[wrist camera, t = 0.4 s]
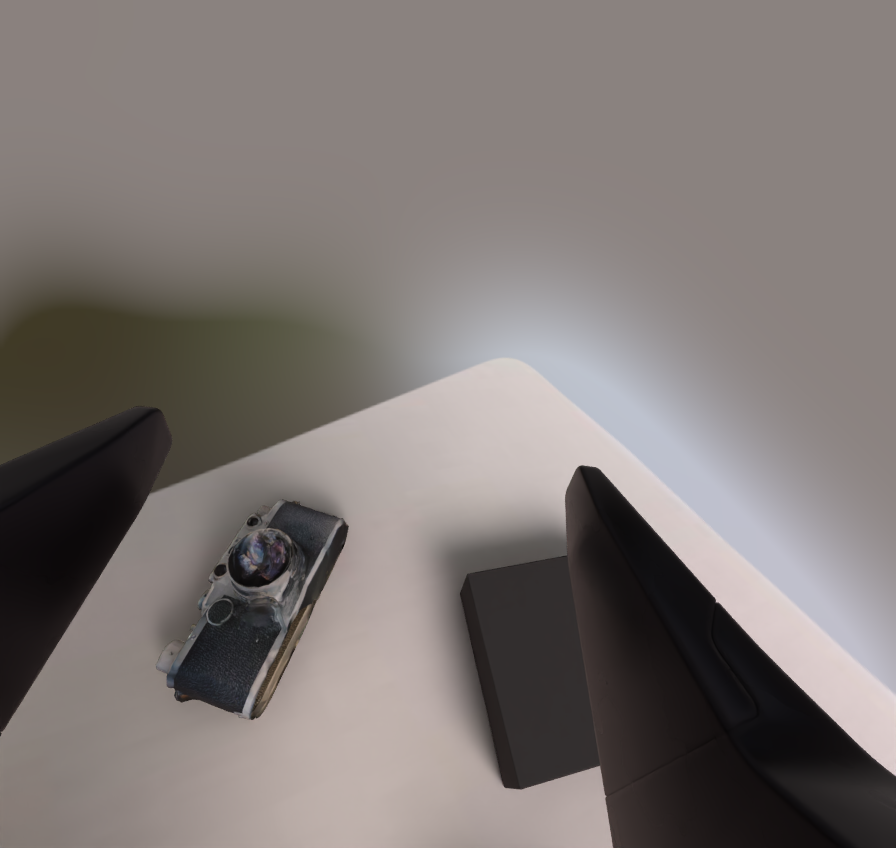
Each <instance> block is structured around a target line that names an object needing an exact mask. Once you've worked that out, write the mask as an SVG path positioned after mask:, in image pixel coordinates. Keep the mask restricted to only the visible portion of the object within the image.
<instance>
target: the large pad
mask: <svg viewBox="0 0 896 848" xmlns="http://www.w3.org/2000/svg"><path fill="white" fill-rule="evenodd" d="M460 596H461V600H462V604H463V609H464V613H465V618H466V622H467V626H468V631H469V635H470V640H471V644H472V648H473V653H474V657H475V662H476V666H477V670H478V675H479V679H480V683H481V688H482V692H483V697H484V701H485V705H486V710H487V714H488V719H489V723H490V727H491V732H492V736H493V741H494V745H495V749H496V754H497V758H498V763H499V767H500V771H501V776H502V780H503V785H504V787H505V788H512V789H524V788H527V787H531V786H534V785H537V784H541V783H544V782H547V781H551V780H554V779H557V778H561V777H564V776H567V775H570V774H574V773H577V772H580V771H584V770H587V769H590V768H594V767H597V766H600V760H599V754H598V748H597V742H596V735H595V729H594V723H593V717H592V711H591V704H590V698H589V692H588V686H587V679H586V673H585V667H584V661H583V655H582V648H581V642H580V636H579V630H578V623H577V617H576V611H575V605H574V598H573V592H572V586H571V580H570V574H569V566H568V556H562V557H557V558H551V559H546V560H541V561H535V562H530V563H524V564H519V565H513V566H508V567H502V568H497V569H492V570H486V571H481V572H475V573H470V574H467V576H466V579H465V582H464V584H463V587H462V590H461V592H460Z"/></svg>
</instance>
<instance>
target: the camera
mask: <svg viewBox="0 0 896 848" xmlns="http://www.w3.org/2000/svg"><path fill="white" fill-rule="evenodd" d="M348 527H349V526H348V525H347V524H346V522H345V521H344V520H343V518H341V519H340V518H337V517H335V516H331V515H328V514H325V513H323V512H319V511H316V510H313V509H311V508H307V507H304V506H301V505H300V502H296V501H293V502H288V501H286V500H283V499H282V500H279V501H278V502H277V503H276V504H275V505H274V506H273V507H272V508H269V507H267V506H261V507H260V508H259V510H258V511H257V514H256V513H253V514H252V515H250V516H249V517H248V519H247V520H246V522H245V523H244V525H243V526H242V528H241V529H240V531H239V532H238V534H237V535H236V537H235V538H234V540H233V541H232V543H231V544H230V546H229V547H228V549H227V550H226V552H225V553H224V555H223V556H222V558H221V559H220V561H219V562H218V564H217V565H216V567H215V568H214V570H213V571H212V573H211V574H210V576H209V582H210V583H212V586H211V588H210V589H209V590H207V591H206V592H205V593H204V594H203V595H202V597H201V598H200V600H199V602H198V609H199V610H201V614H202V617H201V618H200V620H199V622H198V623H197V625H195V624H193V625H192V626H191V629H190V630H192V633H191V634H190V636H189V637H188V639H187V641H186V642H183V641H180V640H174V641H172V642H171V643H169V644H168V645H167V646H166V647H165V648H164V650H163V652H162V653H161V655H160V657H159V659H158V662H157V664H156V668H157V670H159V671H162V672H164V673H167V686H168V688H174V689H175V694H174V696H175V698H176V700H177V701H180V702H185V701H188V700H192V699H193V700H201V701H203V702H206V703H208V704H211V705H213V706H215V707H218V708H220V709H223V710H226V711H228V712H232V713H234V714H237V715H239V718H245V719H251V720H253V719H254V718H255V717H256V718H258V717H260V715H261V714H262V713H263V711H264V710H265V708H266V707H267V705H268V703H269V701H270V700H271V698H272V696H273V694H274V692H275V690H276V688H277V685H278V683H279V681H280V679H281V677H282V675H283V673H284V671H285V669H286V667H287V665H288V663H289V660H290V658H291V656H292V654H293V652H294V650H295V648H296V646H297V644H298V642H299V640H300V638H301V636H302V634H303V631H304V629H305V627H306V625H307V623H308V620H309V618H310V615H311V613H312V610H313V607H314V605H315V603H316V601H317V600H318V598H319V596H320V593H321V591H322V590H323V588H324V586H325V584H326V582H327V580H328V578H329V576H330V574H331V572H332V570H333V567H334V565H335V563H336V560H337V559H338V557H339V555H340V553H341V551H342V549H343V547H344V544H345V541H346V537H347V532H348Z"/></svg>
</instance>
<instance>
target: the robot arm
mask: <svg viewBox="0 0 896 848" xmlns="http://www.w3.org/2000/svg"><path fill="white" fill-rule="evenodd" d="M171 445H172V436H171V433H170V431H169V428H168V425H167V423H166V420H165V418H164V415H163V413H162V412H161V411H160V410H159V409H157V408H153V407H145V406H136V407H133V408H131V409H129V410H126V411H124V412H122V413H119V414H117V415H115V416H112V417H110V418H108V419H106V420H103V421H101V422H99V423H96V424H94V425H92V426H89V427H87V428H85V429H82V430H80V431H78V432H75V433H73V434H71V435H69V436H66V437H64V438H61V439H59V440H57V441H55V442H52V443H50V444H48V445H45V446H43V447H41V448H38V449H36V450H34V451H31V452H29V453H27V454H24V455H22V456H20V457H17V458H15V459H13V460H11V461H8V462H6V463H4V464H1V465H0V736H1V734H2V733H1V732H2V731H3V730H4V729H5V727H6V726H7V724H8V723H9V721H10V719H11V718H12V716H13V715H14V713H15V711H16V710H17V708H18V707H19V705H20V703H21V702H22V700H23V699H24V697H25V695H26V694H27V692H28V690H29V689H30V687H31V686H32V684H33V682H34V681H35V679H36V678H37V676H38V674H39V673H40V671H41V670H42V668H43V666H44V665H45V663H46V662H47V660H48V658H49V657H50V655H51V654H52V652H53V650H54V649H55V647H56V646H57V644H58V642H59V641H60V639H61V638H62V636H63V634H64V633H65V631H66V629H67V628H68V626H69V625H70V623H71V621H72V620H73V618H74V617H75V615H76V613H77V612H78V610H79V609H80V607H81V605H82V604H83V602H84V601H85V599H86V597H87V596H88V594H89V593H90V591H91V589H92V588H93V586H94V585H95V583H96V581H97V580H98V578H99V577H100V575H101V573H102V572H103V570H104V569H105V567H106V565H107V564H108V562H109V560H110V559H111V557H112V556H113V554H114V552H115V551H116V549H117V548H118V546H119V544H120V543H121V541H122V540H123V538H124V536H125V535H126V533H127V532H128V530H129V528H130V527H131V525H132V524H133V522H134V520H135V519H136V517H137V515H138V514H139V512H140V510H141V509H142V507H143V505H144V503H145V501H146V499H147V497H148V495H149V493H150V491H151V488H152V486H153V484H154V482H155V480H156V478H157V476H158V474H159V472H160V470H161V467H162V465H163V463H164V461H165V459H166V457H167V455H168V453H169V451H170V448H171ZM565 508H566V532H567V555H568V566H569V574H570V580H571V586H572V592H573V598H574V605H575V611H576V617H577V623H578V630H579V636H580V642H581V648H582V655H583V661H584V667H585V673H586V679H587V686H588V692H589V698H590V704H591V711H592V717H593V723H594V729H595V735H596V742H597V748H598V754H599V760H600V767H601V773H602V779H603V785H604V791H605V795H606V796H607V797H606V805H607V812H608V818H609V824H610V830H611V837H612V843H613V848H896V776H895V775H893V774H892V773H891V772H889V771H888V770H887V769H886V768H884V767H883V766H882V765H881V764H880V763H878V762H877V761H876V760H875V759H874V758H872V757H871V756H870V755H869V754H868V753H867V752H866V751H865V750H864V749H863V748H861V747H860V746H859V745H858V744H857V743H856V742H855V741H854V740H853V739H852V738H851V737H850V736H849V735H848V734H847V733H846V732H845V731H844V730H843V729H842V728H841V727H840V726H839V725H838V724H837V723H836V722H835V721H834V720H833V719H832V718H831V717H830V716H829V715H828V714H827V713H826V712H825V711H824V710H823V709H822V708H820V707H819V706H818V705H817V704H816V703H815V702H814V701H813V700H812V699H811V698H810V697H809V696H808V695H807V694H806V693H805V692H804V691H803V690H802V689H801V688H800V687H799V686H798V685H797V684H796V683H795V682H794V681H793V680H792V679H791V678H790V677H789V676H788V675H787V674H786V673H785V672H784V671H783V670H782V669H781V668H780V667H779V666H778V665H777V664H776V663H775V662H774V661H773V660H772V659H771V658H770V657H769V656H768V655H767V654H766V653H765V652H764V651H763V650H762V649H761V648H760V647H759V646H758V645H757V644H756V643H755V642H754V641H753V639H752V638H751V637H750V636H749V635H748V634H747V633H746V632H745V631H744V630H743V629H742V628H741V626H740V625H739V624H738V623H737V622H736V621H735V620H734V619H733V618H732V617H731V616H730V614H729V613H728V612H727V611H726V610H725V609H724V608H723V607H722V605H721V604H720V603H716V599H715V598H714V597H713V596H712V595H711V593H710V592H709V591H708V590H707V589H706V588H705V587H704V586H703V584H702V583H701V582H700V581H699V580H698V579H697V578H696V577H695V575H694V574H693V573H692V572H691V571H690V570H689V569H688V568H687V567H686V565H685V564H684V563H683V562H682V561H681V560H680V559H679V558H678V556H677V555H676V554H675V553H674V552H673V551H672V550H671V549H670V548H669V546H668V545H667V544H666V543H665V542H664V541H663V540H662V539H661V537H660V536H659V535H658V534H657V533H656V532H655V531H654V530H653V529H652V527H651V526H650V525H649V524H648V523H647V522H646V521H645V520H644V518H643V517H642V516H641V515H640V514H639V513H638V512H637V511H636V510H635V508H634V507H633V506H632V505H631V504H630V503H629V502H628V501H627V499H626V498H625V497H624V496H623V495H622V494H621V493H620V492H619V490H618V489H617V488H616V487H615V486H614V485H613V484H612V483H611V482H610V480H609V479H608V478H607V477H606V476H605V475H604V474H603V473H602V471H601V470H600V469H598V468H596V467H590V466H583V465H582V466H579V467H578V468H577V469H576V471H575V473H574V475H573V477H572V479H571V482H570V484H569V486H568V488H567V491H566V495H565Z"/></svg>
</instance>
